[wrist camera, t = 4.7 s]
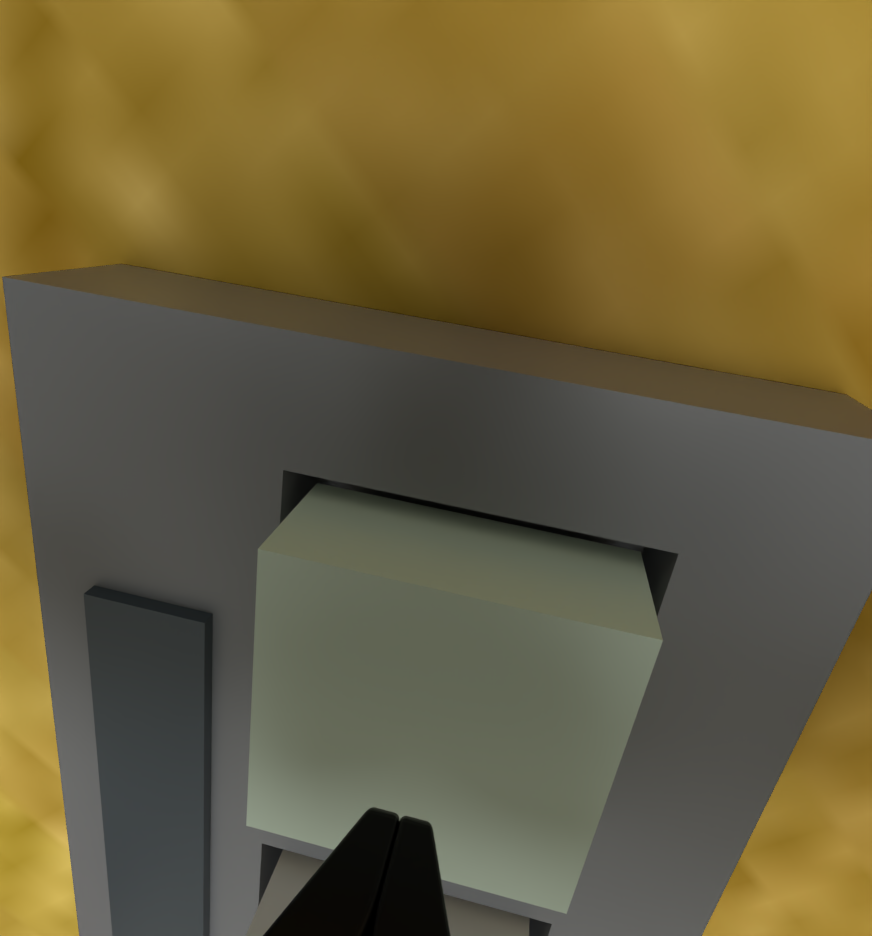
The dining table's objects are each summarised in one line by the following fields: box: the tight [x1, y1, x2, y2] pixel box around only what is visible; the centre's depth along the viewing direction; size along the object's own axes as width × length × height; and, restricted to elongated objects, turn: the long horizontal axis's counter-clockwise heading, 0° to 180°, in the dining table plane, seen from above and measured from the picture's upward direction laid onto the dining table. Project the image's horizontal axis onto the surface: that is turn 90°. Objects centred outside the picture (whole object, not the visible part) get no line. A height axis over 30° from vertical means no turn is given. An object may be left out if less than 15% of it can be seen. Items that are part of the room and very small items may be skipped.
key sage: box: [246, 483, 663, 914], centre depth 11 cm, size 6×6×2 cm
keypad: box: [2, 264, 872, 936], centre depth 16 cm, size 14×29×3 cm, turn 171°
